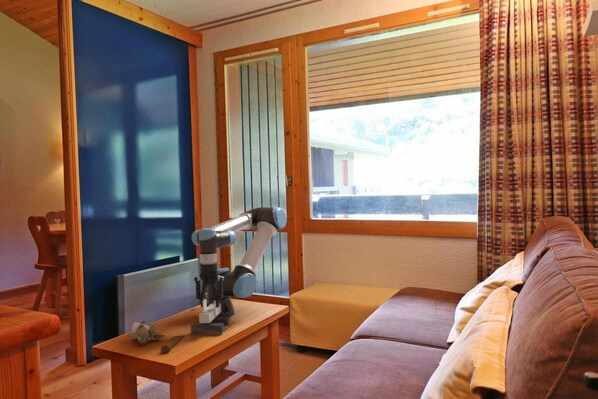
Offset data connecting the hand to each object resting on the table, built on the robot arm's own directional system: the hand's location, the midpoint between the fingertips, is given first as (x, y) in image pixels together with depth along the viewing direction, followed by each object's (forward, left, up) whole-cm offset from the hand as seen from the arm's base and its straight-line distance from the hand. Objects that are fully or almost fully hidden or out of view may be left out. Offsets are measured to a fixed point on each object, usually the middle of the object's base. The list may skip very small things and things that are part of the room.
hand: (210, 314), depth 184 cm
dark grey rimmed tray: (0, 0, -7) cm, 7 cm away
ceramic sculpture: (+15, -24, -7) cm, 29 cm away
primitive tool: (+18, -10, -8) cm, 22 cm away
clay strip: (0, 0, -1) cm, 1 cm away
